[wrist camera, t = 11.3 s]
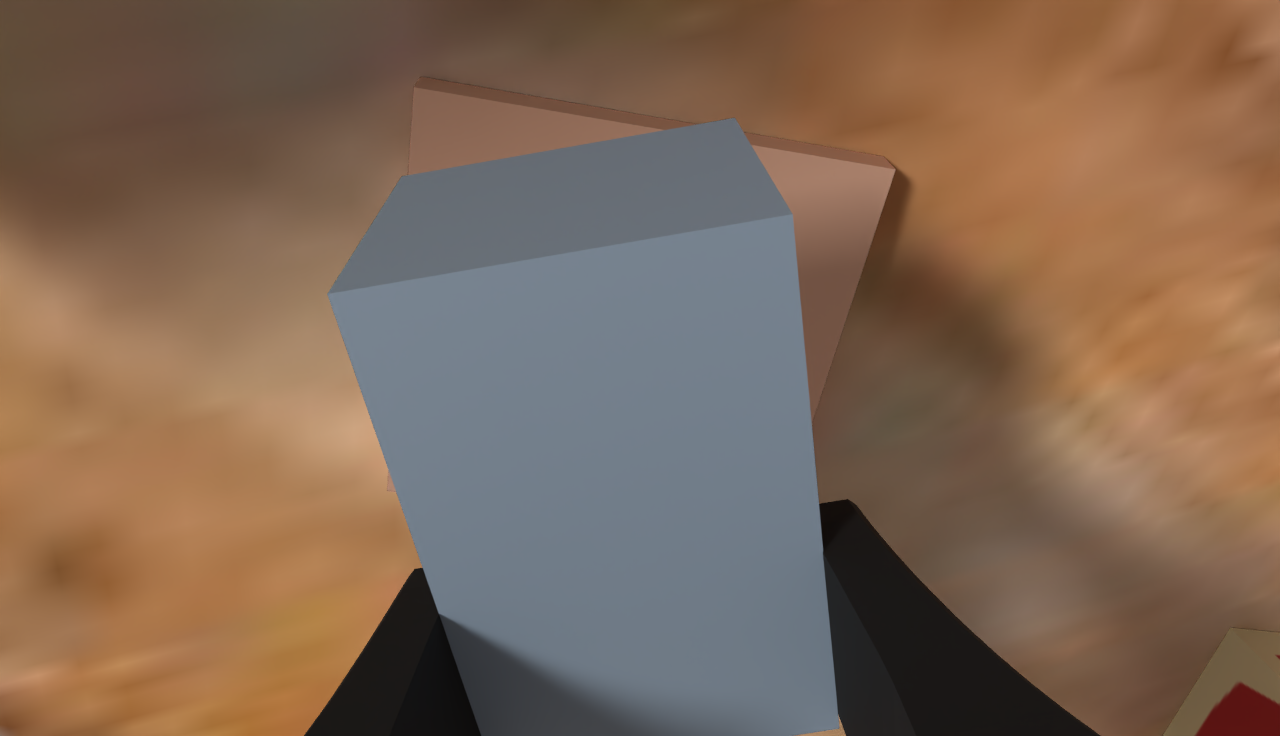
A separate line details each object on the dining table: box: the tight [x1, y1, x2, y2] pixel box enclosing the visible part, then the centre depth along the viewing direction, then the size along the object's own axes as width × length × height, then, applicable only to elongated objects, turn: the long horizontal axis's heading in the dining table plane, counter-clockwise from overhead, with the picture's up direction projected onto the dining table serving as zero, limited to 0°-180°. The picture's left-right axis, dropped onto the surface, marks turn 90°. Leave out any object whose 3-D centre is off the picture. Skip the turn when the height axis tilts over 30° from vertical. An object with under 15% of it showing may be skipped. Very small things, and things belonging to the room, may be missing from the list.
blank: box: [328, 118, 839, 736], centre depth 12 cm, size 4×7×4 cm, turn 9°
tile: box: [387, 77, 896, 492], centre depth 20 cm, size 9×9×1 cm
